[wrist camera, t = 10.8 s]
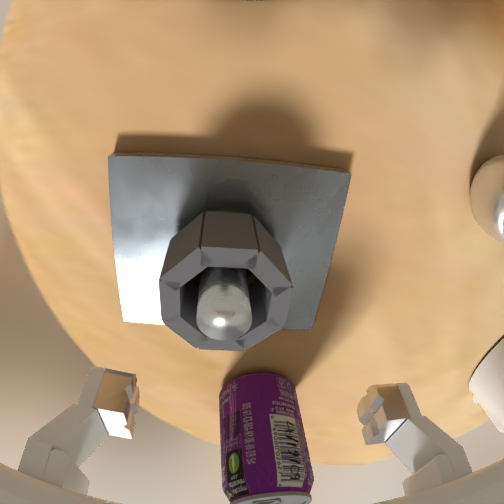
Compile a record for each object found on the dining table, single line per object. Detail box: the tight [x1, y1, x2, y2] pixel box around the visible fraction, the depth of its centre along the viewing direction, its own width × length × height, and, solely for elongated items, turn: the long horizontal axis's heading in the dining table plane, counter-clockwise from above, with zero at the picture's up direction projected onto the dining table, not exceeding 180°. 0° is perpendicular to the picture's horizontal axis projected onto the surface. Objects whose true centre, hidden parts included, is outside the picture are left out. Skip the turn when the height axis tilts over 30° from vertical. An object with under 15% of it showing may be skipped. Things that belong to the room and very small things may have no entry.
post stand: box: [108, 152, 351, 340], centre depth 18 cm, size 14×12×7 cm
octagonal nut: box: [159, 211, 293, 351], centre depth 17 cm, size 6×6×4 cm
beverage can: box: [219, 373, 314, 504], centre depth 24 cm, size 7×7×12 cm
